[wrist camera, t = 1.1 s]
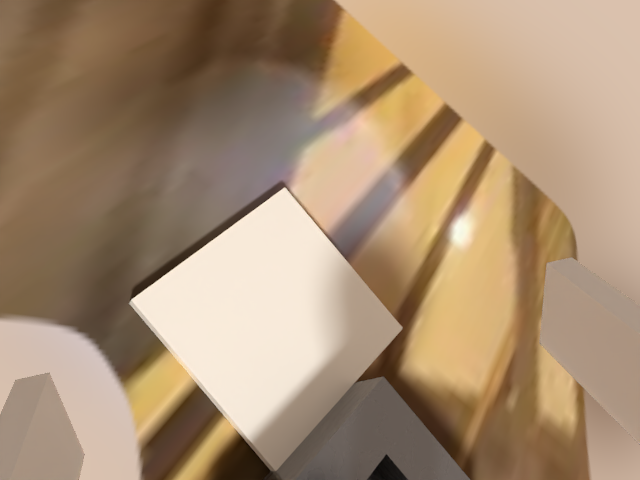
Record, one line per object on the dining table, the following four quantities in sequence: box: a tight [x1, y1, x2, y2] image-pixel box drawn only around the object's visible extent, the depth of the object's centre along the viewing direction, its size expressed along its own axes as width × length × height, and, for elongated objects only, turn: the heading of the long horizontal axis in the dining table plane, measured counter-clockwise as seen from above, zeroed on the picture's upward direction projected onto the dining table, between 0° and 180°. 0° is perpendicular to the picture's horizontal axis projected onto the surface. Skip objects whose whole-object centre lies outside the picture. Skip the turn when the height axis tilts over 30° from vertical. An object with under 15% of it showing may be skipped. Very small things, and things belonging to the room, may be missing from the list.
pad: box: [129, 188, 403, 471], centre depth 37 cm, size 14×14×1 cm
